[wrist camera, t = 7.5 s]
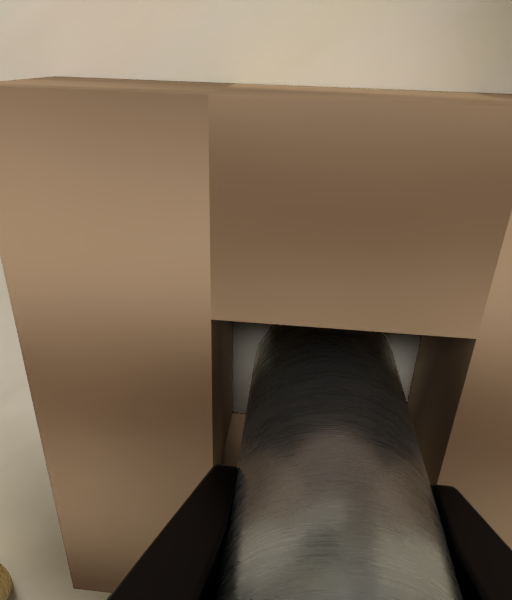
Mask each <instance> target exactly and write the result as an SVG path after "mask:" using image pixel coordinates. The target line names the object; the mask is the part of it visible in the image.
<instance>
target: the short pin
mask: <svg viewBox="0 0 512 600" xmlns="http://www.w3.org/2000/svg"><path fill="white" fill-rule="evenodd" d="M12 587H13V583H12V579H11V576H10V575H9V573H8V571H7V570H6V569H5V568H4V567H3V566H2V565H1V564H0V600H7V598H8V596H9V594H10V593H11V591H12Z"/></svg>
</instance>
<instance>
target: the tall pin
mask: <svg viewBox="0 0 512 600" xmlns="http://www.w3.org/2000/svg"><path fill="white" fill-rule="evenodd" d="M237 467H238V472H237V479H236V485H235V491H234V497H233V503H232V509H231V515H230V521H229V527H228V533H227V538H226V543H225V547H224V552H223V557H222V562H221V566H220V571H219V576H218V581H217V587H216V593H215V598H214V600H463V598H462V594H461V591H460V587H459V584H458V580H457V577H456V573H455V570H454V566H453V563H452V559H451V556H450V552H449V549H448V545H447V542H446V538H445V535H444V531H443V528H442V524H441V521H440V517H439V514H438V510H437V507H436V503H435V500H434V496H433V493H432V489H431V486H430V482H429V479H428V475H427V472H426V468H425V465H424V461H423V458H422V454H421V451H420V447H419V444H418V440H417V437H416V433H415V430H414V426H413V423H412V419H411V416H410V412H409V409H408V405H407V402H406V398H405V395H404V391H403V388H402V384H401V381H400V377H399V374H398V370H397V367H396V363H395V360H394V356H393V353H392V350H391V347H390V345H389V343H388V341H387V339H386V338H385V336H384V335H383V334H382V332H374V331H360V330H347V329H333V328H319V327H306V326H292V325H278V324H276V325H274V326H273V327H272V328H271V329H270V330H269V331H268V332H267V334H266V335H265V336H264V338H263V339H262V341H261V343H260V345H259V347H258V350H257V354H256V358H255V364H254V370H253V375H252V381H251V387H250V393H249V399H248V405H247V411H246V417H245V422H244V428H243V434H242V440H241V446H240V452H239V458H238V463H237Z"/></svg>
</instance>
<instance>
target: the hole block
mask: <svg viewBox="0 0 512 600" xmlns="http://www.w3.org/2000/svg"><path fill="white" fill-rule="evenodd" d="M0 256H1V260H2V265H3V269H4V274H5V279H6V283H7V288H8V292H9V297H10V301H11V306H12V310H13V315H14V319H15V324H16V328H17V333H18V338H19V342H20V347H21V351H22V356H23V360H24V365H25V369H26V374H27V378H28V383H29V387H30V392H31V397H32V401H33V406H34V410H35V415H36V419H37V424H38V428H39V433H40V437H41V442H42V446H43V451H44V456H45V460H46V465H47V469H48V474H49V478H50V483H51V487H52V492H53V496H54V501H55V505H56V510H57V515H58V519H59V524H60V528H61V533H62V537H63V542H64V546H65V551H66V555H67V560H68V564H69V569H70V574H71V578H72V583H73V587H74V589H83V590H92V591H101V592H109V593H112V592H113V591H114V590H115V588H116V587H117V586H118V585H119V583H120V582H121V581H122V580H123V578H124V577H125V576H126V575H127V573H128V572H129V571H130V570H131V568H132V567H133V566H134V565H135V563H136V562H137V561H138V560H139V558H140V557H141V556H142V554H143V553H144V552H145V551H146V549H147V548H148V547H149V546H150V544H151V543H152V542H153V541H154V539H155V538H156V537H157V536H158V534H159V533H160V532H161V531H162V529H163V528H164V527H165V526H166V524H167V523H168V522H169V521H170V519H171V518H172V517H173V516H174V514H175V513H176V512H177V511H178V509H179V508H180V507H181V506H182V504H183V503H184V502H185V501H186V499H187V498H188V497H189V496H190V494H191V493H192V492H193V491H194V489H195V488H196V487H197V486H198V484H199V483H200V482H201V481H202V479H203V478H204V477H205V476H206V474H207V473H208V472H209V471H210V469H211V468H212V467H213V466H214V465H216V464H223V465H234V466H237V463H238V458H239V452H240V446H241V440H242V434H243V428H244V422H245V417H246V414H237V413H232V373H233V321H237V322H251V323H265V324H278V325H292V326H306V327H319V328H333V329H347V330H360V331H374V332H388V333H401V334H415V335H422V337H421V342H420V346H419V351H418V356H417V360H416V365H415V370H414V375H413V379H412V384H411V389H410V393H409V398H408V403H407V405H408V409H409V412H410V416H411V419H412V423H413V426H414V430H415V433H416V437H417V440H418V444H419V447H420V451H421V454H422V458H423V461H424V465H425V468H426V472H427V475H428V479H429V482H430V485H431V484H436V485H447V486H453V487H455V488H456V489H457V490H458V491H459V492H460V493H461V494H462V495H463V496H464V497H465V498H466V500H467V501H468V502H469V503H470V504H471V505H472V506H473V507H474V508H475V510H476V511H477V512H478V513H479V514H480V515H481V516H482V517H483V518H484V520H485V521H486V522H487V523H488V524H489V525H490V526H491V527H492V529H493V530H494V531H495V532H496V533H497V534H498V535H499V536H500V537H501V539H502V540H503V541H504V542H505V543H506V544H507V545H508V546H509V547H510V549H511V550H512V94H494V93H469V92H443V91H417V90H391V89H365V88H339V87H313V86H287V85H261V84H235V83H209V82H184V81H158V80H132V79H106V78H80V77H45V78H33V79H22V80H11V81H0Z"/></svg>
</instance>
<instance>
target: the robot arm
mask: <svg viewBox="0 0 512 600" xmlns="http://www.w3.org/2000/svg"><path fill="white" fill-rule="evenodd" d="M237 472H238V467H237V466H234V465H223V464H216V465H214V466H213V467H212V468H211V469H210V471H209V472H208V473H207V474H206V476H205V477H204V478H203V479H202V481H201V482H200V483H199V484H198V486H197V487H196V488H195V489H194V491H193V492H192V493H191V494H190V496H189V497H188V498H187V499H186V501H185V502H184V503H183V504H182V506H181V507H180V508H179V509H178V511H177V512H176V513H175V514H174V516H173V517H172V518H171V519H170V521H169V522H168V523H167V524H166V526H165V527H164V528H163V529H162V531H161V532H160V533H159V534H158V536H157V537H156V538H155V539H154V541H153V542H152V543H151V544H150V546H149V547H148V548H147V549H146V551H145V552H144V553H143V554H142V556H141V557H140V558H139V560H138V561H137V562H136V563H135V565H134V566H133V567H132V568H131V570H130V571H129V572H128V573H127V575H126V576H125V577H124V578H123V580H122V581H121V582H120V583H119V585H118V586H117V587H116V588H115V590H114V591H113V592H112V593H111V595H110V596H109V597H108V598H107V600H214V598H215V593H216V587H217V581H218V576H219V571H220V566H221V562H222V557H223V552H224V547H225V543H226V538H227V533H228V527H229V521H230V515H231V509H232V503H233V497H234V491H235V485H236V479H237ZM430 486H431V489H432V493H433V496H434V500H435V503H436V507H437V510H438V514H439V517H440V521H441V524H442V528H443V531H444V535H445V538H446V542H447V545H448V549H449V552H450V556H451V559H452V563H453V566H454V570H455V573H456V577H457V580H458V584H459V587H460V591H461V594H462V598H463V600H512V550H511V549H510V547H509V546H508V545H507V544H506V543H505V542H504V541H503V540H502V539H501V537H500V536H499V535H498V534H497V533H496V532H495V531H494V530H493V529H492V527H491V526H490V525H489V524H488V523H487V522H486V521H485V520H484V518H483V517H482V516H481V515H480V514H479V513H478V512H477V511H476V510H475V508H474V507H473V506H472V505H471V504H470V503H469V502H468V501H467V500H466V498H465V497H464V496H463V495H462V494H461V493H460V492H459V491H458V490H457V489H456V488H455V487H453V486H447V485H436V484H431V485H430Z"/></svg>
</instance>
